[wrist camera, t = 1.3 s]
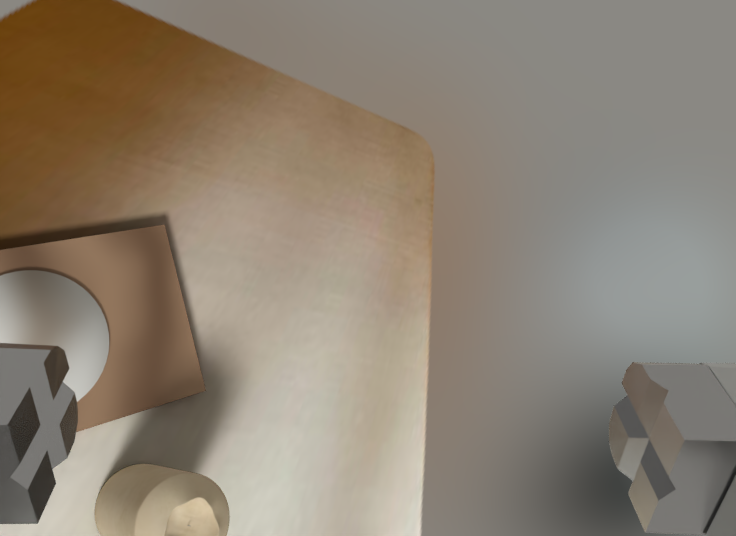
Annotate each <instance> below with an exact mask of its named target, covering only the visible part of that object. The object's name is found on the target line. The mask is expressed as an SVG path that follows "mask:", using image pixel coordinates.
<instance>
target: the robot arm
mask: <svg viewBox="0 0 736 536" xmlns="http://www.w3.org/2000/svg"><path fill="white" fill-rule="evenodd" d="M68 370H69V365H68V361H67V357H66V354H65V350H63V349H62V348H60V347H59V346H51V345H32V344H12V343H0V524H38V522H39V520H40V517H41V515H42V513H43V511H44V509H45V506H46V504H47V502H48V500H49V498H50V495H51V493H52V491H53V489H54V487H55V484H56V482H55V478H54V474H53V470H52V469H53V468H54V467H55V466H57V465H58V464H60V463H61V462H62V461H64V460H65V459H66V458H67V457H68V455H69V453H70V450H71V448H72V446H73V443H74V440H75V435H76V430H77V424H78V405H77V400H76V395H75V392H74V391H73V390H72V389H70V388H69V387H68V386H67V385H66V384H65V383H64V382H63V380H64V378H65V376H66V374H67V372H68ZM622 385H623V387H624V389H625V391H626V393H627V396H626V397H625V398H623V399H622V400H621V401H619V402H618V403H617V404H616V405H615V406H614V408H613V411H612V415H611V418H610V422H609V443H610V447H611V453H612V456H613V458H614V461H615V463H616V466H617V468H618V469H619V470H620V471H621V472H622V473H624V474H625V475H626V476H627V477H629V478H630V479H631V480H632V481H633V482H632V485H631V488H630V490H629V493H628V494H629V496H630V499H631V501H632V503H633V506H634V508H635V510H636V512H637V515H638V517H639V519H640V521H641V524H642V526H643V529H644V531H645V532H646V533H668V534H691V535H705V536H736V364H735V363H700V364H683V363H641V362H633V363H632V364H631V365H630V366H629V367H628V369H627V370H626V373H625V375H624V378H623V381H622Z"/></svg>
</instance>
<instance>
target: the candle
mask: <svg viewBox="0 0 736 536" xmlns="http://www.w3.org/2000/svg"><path fill="white" fill-rule="evenodd" d="M95 521H96V525H97V528H98V530H99V532H100V534H101V536H226V535H227V532H228V527H229V508H228V503H227V500H226V497H225V495H224V493H223V492H222V490H221V489H220V487H219V486H218V485H217V484H216V483H215V482H214V481H212V480H211V479H209V478H208V477H206V476H203V475H201V474H197V473H192V472H187V471H182V470H178V469H173V468H168V467H163V466H158V465H152V464H135V465H131V466H128V467H126V468H123V469H121V470H120V471H118V472H116V473H115V474H114V475H113V476H111V477H110V478H109V479H108V481H107V482H106V483H105V484H104V486H103V487H102V489H101V491H100V493H99V495H98V498H97V500H96V505H95Z"/></svg>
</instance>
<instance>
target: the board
mask: <svg viewBox="0 0 736 536" xmlns="http://www.w3.org/2000/svg"><path fill="white" fill-rule="evenodd" d="M0 343H12V344H32V345H51V346H59V347H60V348H62V349H63V350H65V354H66V357H67V361H68V365H69V370H68V372H67V374H66V376H65V378H64V380H63V382H64V383H65V384H66V385H67V386H68V387H69V388H70V389H72V390H73V391H74V392H75V395H76V400H77V405H78V424H77V430H76V432H78V431H81V430H84V429H87V428H91V427H94V426H97V425H100V424H103V423H106V422H109V421H113V420H116V419H119V418H122V417H125V416H128V415H131V414H134V413H138V412H141V411H144V410H147V409H150V408H153V407H156V406H160V405H163V404H166V403H169V402H172V401H175V400H178V399H181V398H185V397H188V396H191V395H194V394H197V393H200V392H203V391H206V389H205V385H204V381H203V377H202V373H201V369H200V365H199V361H198V357H197V353H196V349H195V345H194V341H193V337H192V333H191V329H190V325H189V321H188V317H187V313H186V309H185V305H184V301H183V297H182V293H181V289H180V285H179V281H178V277H177V273H176V269H175V265H174V261H173V257H172V253H171V249H170V244H169V240H168V236H167V232H166V228H165V225H158V226H152V227H145V228H139V229H133V230H126V231H120V232H113V233H107V234H100V235H94V236H87V237H81V238H75V239H68V240H62V241H55V242H49V243H42V244H36V245H29V246H23V247H17V248H10V249H4V250H0Z"/></svg>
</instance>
